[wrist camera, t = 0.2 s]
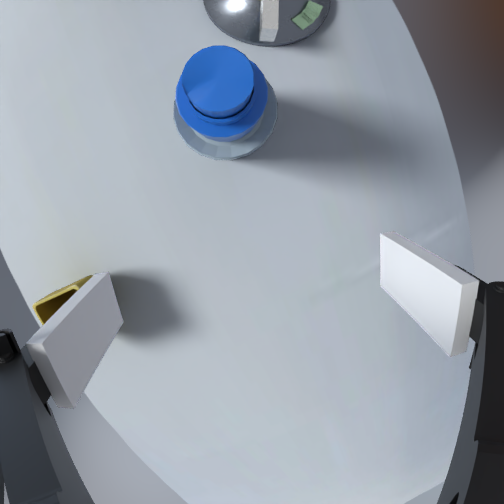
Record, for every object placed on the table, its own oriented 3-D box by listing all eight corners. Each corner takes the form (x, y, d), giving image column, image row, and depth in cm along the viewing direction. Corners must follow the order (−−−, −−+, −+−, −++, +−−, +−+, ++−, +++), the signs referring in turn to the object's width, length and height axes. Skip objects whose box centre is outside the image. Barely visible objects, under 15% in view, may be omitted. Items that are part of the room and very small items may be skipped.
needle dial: (251, -23, 31) (253, -40, 27) (284, -21, 31) (289, -37, 27) (248, 41, 34) (250, 27, 30) (283, 43, 34) (289, 30, 30)
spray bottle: (245, 80, 37) (258, -16, 13) (276, 141, 39) (334, 119, 16) (181, 111, 38) (109, 53, 14) (212, 171, 40) (178, 193, 16)
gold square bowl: (103, 260, 43) (76, 284, 34) (130, 313, 45) (111, 345, 37) (60, 280, 43) (30, 305, 35) (87, 329, 46) (64, 359, 37)
